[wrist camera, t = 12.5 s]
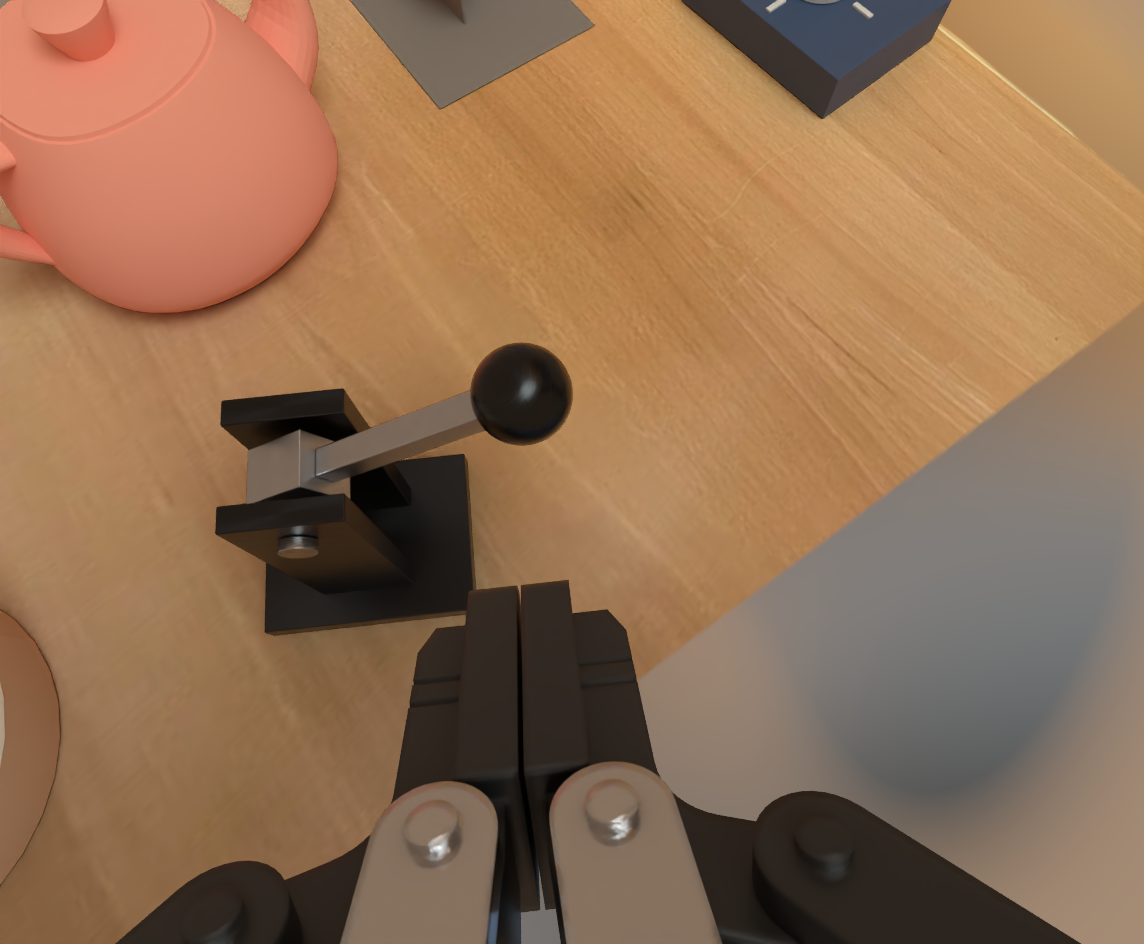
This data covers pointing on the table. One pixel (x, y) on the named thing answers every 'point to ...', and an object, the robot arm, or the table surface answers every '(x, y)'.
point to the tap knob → (821, 1)
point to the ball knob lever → (352, 528)
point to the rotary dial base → (825, 40)
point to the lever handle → (422, 428)
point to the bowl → (24, 740)
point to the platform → (469, 38)
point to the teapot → (161, 144)
